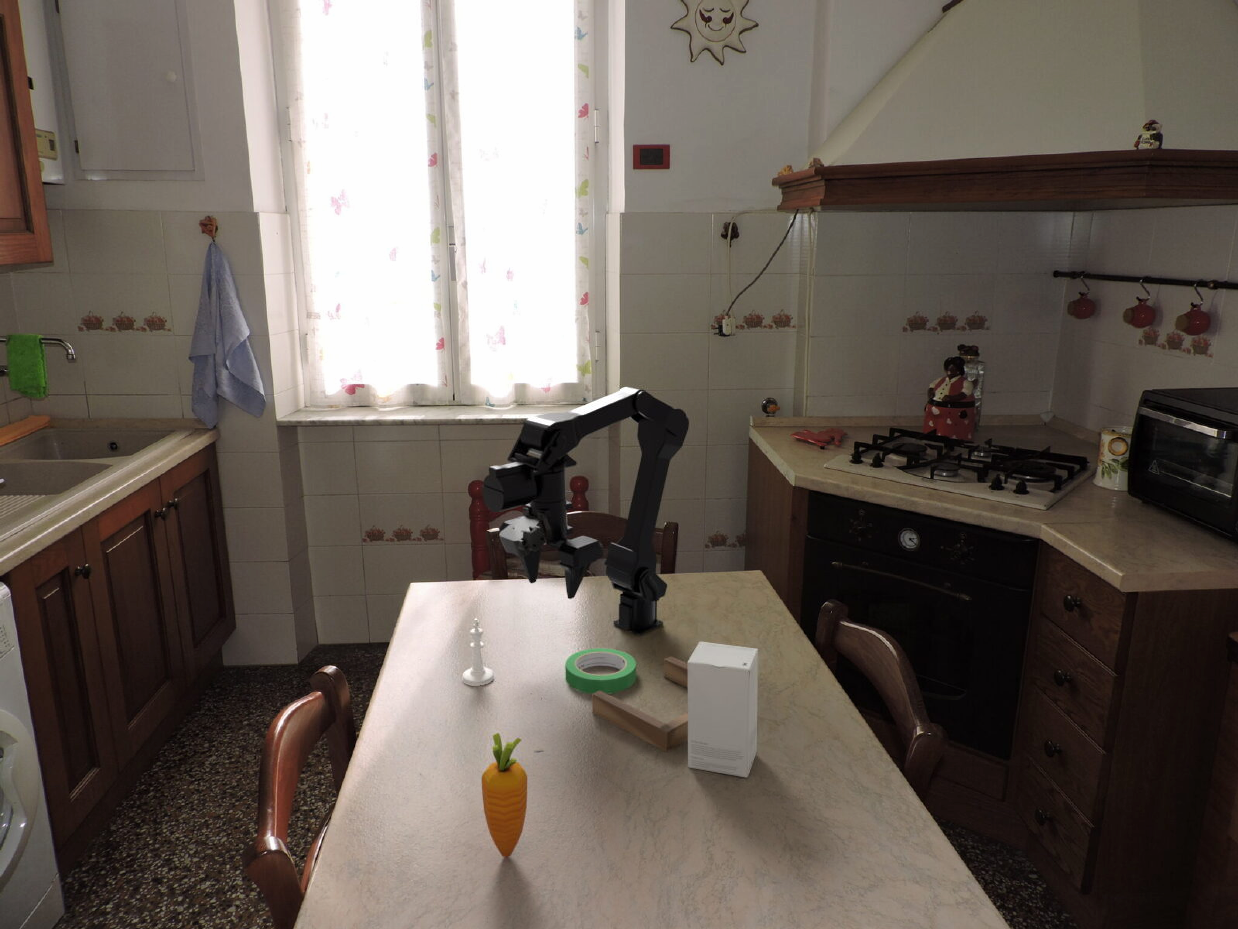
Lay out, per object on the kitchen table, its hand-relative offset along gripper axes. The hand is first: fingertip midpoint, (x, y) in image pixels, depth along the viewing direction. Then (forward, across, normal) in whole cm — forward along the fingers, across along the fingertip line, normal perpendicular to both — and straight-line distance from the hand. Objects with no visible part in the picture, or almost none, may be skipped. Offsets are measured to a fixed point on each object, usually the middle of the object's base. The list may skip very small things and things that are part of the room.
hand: (551, 590), depth 147 cm
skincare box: (+12, +38, -5) cm, 40 cm away
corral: (+12, +24, 0) cm, 27 cm away
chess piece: (+12, -3, -13) cm, 18 cm away
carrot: (+11, +33, -36) cm, 50 cm away
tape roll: (+12, +10, +1) cm, 16 cm away
